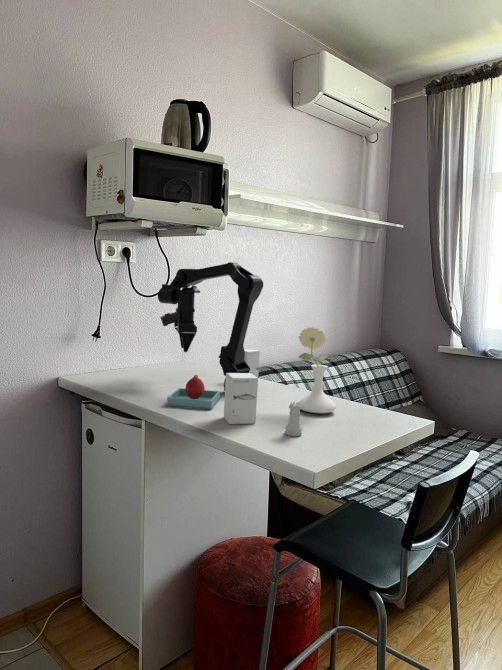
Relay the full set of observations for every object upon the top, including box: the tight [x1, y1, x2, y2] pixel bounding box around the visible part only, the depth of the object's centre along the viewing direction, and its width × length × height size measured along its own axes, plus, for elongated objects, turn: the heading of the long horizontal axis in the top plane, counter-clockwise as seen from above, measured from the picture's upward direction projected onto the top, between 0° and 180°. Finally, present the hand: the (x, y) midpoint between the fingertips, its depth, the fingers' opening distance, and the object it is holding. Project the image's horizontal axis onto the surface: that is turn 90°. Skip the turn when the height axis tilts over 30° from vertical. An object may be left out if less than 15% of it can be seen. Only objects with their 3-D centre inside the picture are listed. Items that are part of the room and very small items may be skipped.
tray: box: [166, 387, 221, 411], centre depth 159 cm, size 13×13×3 cm
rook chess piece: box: [284, 401, 303, 438], centre depth 133 cm, size 4×4×8 cm
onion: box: [184, 374, 206, 399], centre depth 159 cm, size 6×6×8 cm
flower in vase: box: [298, 326, 337, 414], centre depth 156 cm, size 13×11×25 cm
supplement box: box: [223, 373, 259, 425], centre depth 142 cm, size 7×7×13 cm
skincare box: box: [244, 349, 261, 379], centre depth 192 cm, size 6×4×12 cm
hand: (184, 350), depth 184 cm, fingers open, 9 cm apart
